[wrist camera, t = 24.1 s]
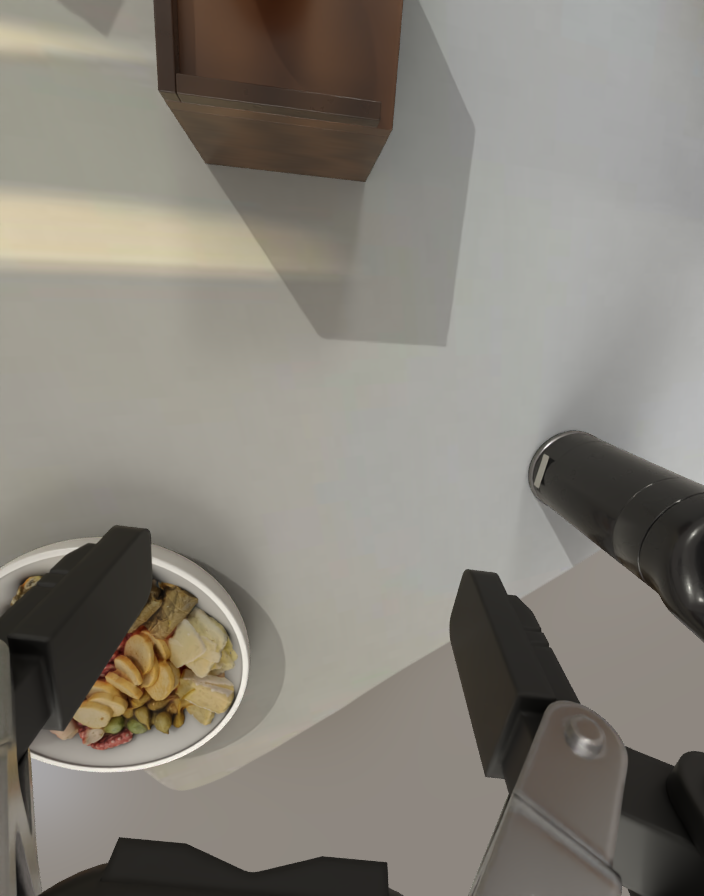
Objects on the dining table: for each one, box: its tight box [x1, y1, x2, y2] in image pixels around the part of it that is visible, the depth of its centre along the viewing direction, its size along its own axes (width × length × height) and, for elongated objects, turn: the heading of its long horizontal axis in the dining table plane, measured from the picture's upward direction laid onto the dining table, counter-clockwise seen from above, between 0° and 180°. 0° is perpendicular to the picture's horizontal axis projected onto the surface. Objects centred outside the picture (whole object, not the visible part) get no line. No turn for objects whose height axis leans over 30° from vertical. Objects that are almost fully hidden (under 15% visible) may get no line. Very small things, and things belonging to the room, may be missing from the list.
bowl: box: [0, 537, 250, 772], centre depth 47 cm, size 30×30×8 cm
